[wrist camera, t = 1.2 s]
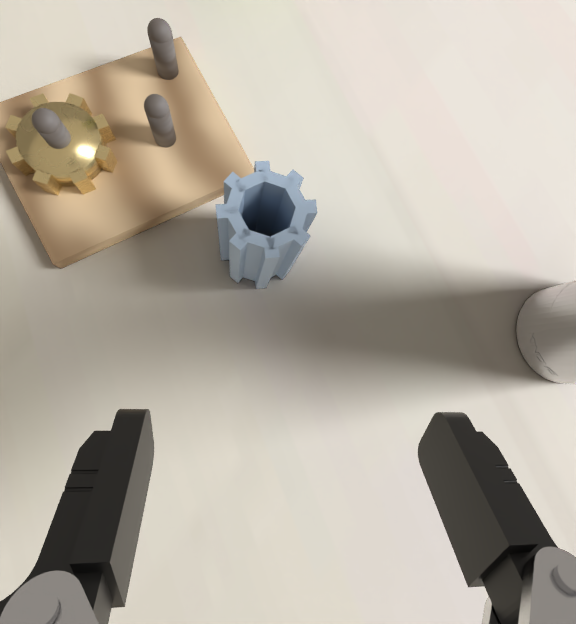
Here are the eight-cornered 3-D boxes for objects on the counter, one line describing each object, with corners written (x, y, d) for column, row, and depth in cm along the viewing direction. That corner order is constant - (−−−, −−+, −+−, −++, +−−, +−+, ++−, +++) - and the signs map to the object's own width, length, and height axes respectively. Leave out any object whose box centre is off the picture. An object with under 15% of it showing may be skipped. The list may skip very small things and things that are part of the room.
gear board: (182, 49, 37) (173, -16, 30) (254, 180, 36) (259, 141, 30) (-15, 123, 33) (-72, 66, 27) (60, 268, 33) (20, 245, 26)
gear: (92, 95, 33) (83, 78, 31) (134, 173, 33) (127, 161, 31) (1, 129, 32) (-14, 113, 30) (43, 211, 32) (31, 200, 30)
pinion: (271, 207, 36) (286, 147, 26) (304, 268, 36) (332, 230, 26) (208, 237, 35) (199, 186, 25) (242, 300, 34) (246, 273, 25)
